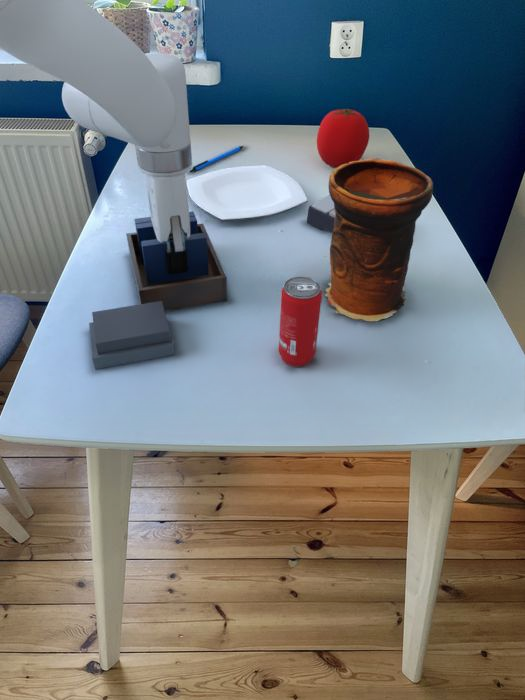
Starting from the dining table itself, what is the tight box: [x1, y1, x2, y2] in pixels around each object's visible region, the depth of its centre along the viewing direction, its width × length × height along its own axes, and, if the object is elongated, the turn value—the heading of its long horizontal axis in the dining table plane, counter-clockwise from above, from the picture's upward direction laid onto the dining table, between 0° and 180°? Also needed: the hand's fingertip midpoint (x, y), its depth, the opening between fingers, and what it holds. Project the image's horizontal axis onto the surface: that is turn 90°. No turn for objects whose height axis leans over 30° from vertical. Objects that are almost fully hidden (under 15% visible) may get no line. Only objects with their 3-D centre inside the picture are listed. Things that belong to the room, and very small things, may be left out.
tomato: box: [316, 108, 370, 169], centre depth 122 cm, size 12×12×13 cm
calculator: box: [306, 194, 336, 233], centre depth 103 cm, size 11×4×15 cm
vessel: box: [324, 157, 434, 322], centre depth 81 cm, size 14×14×20 cm
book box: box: [125, 223, 228, 312], centre depth 89 cm, size 13×17×5 cm
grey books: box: [88, 301, 176, 370], centre depth 77 cm, size 11×8×4 cm
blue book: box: [141, 233, 209, 284], centre depth 86 cm, size 10×2×7 cm, turn 107°
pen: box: [189, 145, 245, 173], centre depth 127 cm, size 1×19×1 cm, turn 143°
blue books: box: [133, 211, 199, 265], centre depth 92 cm, size 10×3×7 cm, turn 107°
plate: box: [186, 164, 309, 221], centre depth 112 cm, size 23×23×2 cm
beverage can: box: [278, 276, 323, 368], centre depth 72 cm, size 5×5×12 cm
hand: (176, 267), depth 87 cm, fingers closed on blue book, 1 cm apart
